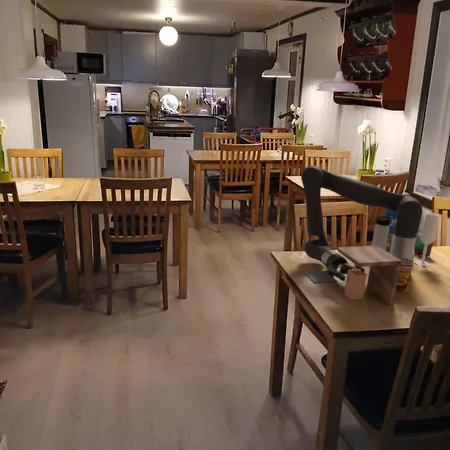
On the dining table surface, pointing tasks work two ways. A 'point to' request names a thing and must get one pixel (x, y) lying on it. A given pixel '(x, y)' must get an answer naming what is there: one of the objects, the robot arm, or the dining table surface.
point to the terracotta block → (355, 284)
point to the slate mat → (320, 277)
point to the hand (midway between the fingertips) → (354, 278)
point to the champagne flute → (428, 234)
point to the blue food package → (392, 224)
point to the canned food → (404, 274)
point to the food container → (421, 246)
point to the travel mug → (381, 232)
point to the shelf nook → (376, 269)
